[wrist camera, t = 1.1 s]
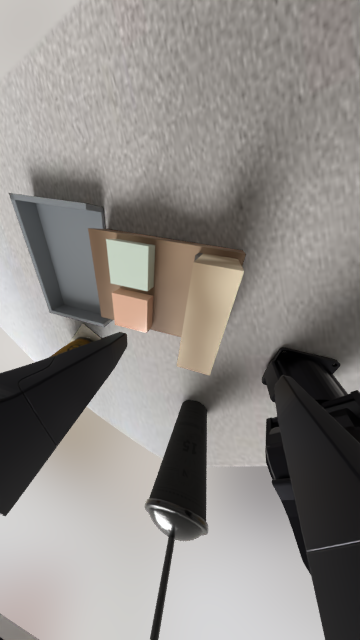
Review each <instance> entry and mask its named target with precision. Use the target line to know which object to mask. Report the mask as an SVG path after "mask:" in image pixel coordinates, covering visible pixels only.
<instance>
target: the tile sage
mask: <svg viewBox="0 0 360 640" xmlns="http://www.w3.org/2000/svg"><path fill="white" fill-rule="evenodd" d="M106 243H107V253H108V262H109V272H110V281H111V284H116V285H121V286H125V287H130V288H134V289H139V290H144V291H149V290H150V289H151V288H153V287H154V263H155V245H151V244H145V243H139V242H133V241H127V240H121V239H106Z"/></svg>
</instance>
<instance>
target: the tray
mask: <svg viewBox="0 0 360 640" xmlns="http://www.w3.org/2000/svg"><path fill="white" fill-rule="evenodd" d="M9 195H10V198H11V201H12V204H13V207H14V210H15V213H16V216H17V219H18V221H19V224H20V227H21V230H22V233H23V236H24V239H25V242H26V245H27V248H28V251H29V253H30V256H31V259H32V262H33V265H34V268H35V271H36V274H37V277H38V280H39V283H40V285H41V288H42V291H43V294H44V297H45V300H46V303H47V306H48V309H49V312H50V313H53V314H57V315H60V316H64V317H68V318H72V319H75V320H79V321H83V322H87V323H90V324H94V325H98V326H102V327H105V326H106V325H107V324H109V323H110V322H111V321H112V319H108V318H104V317H101V310H100V304H99V297H98V291H97V284H96V278H95V271H94V265H93V258H92V252H91V245H90V239H89V232H88V228H96V229H105V222H104V212H103V207H100V206H95V205H91V204H86V203H79V202H72V201H64V200H57V199H50V198H42V197H35V196H27V195H20V194H13V193H9Z"/></svg>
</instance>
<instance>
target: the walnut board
mask: <svg viewBox="0 0 360 640" xmlns="http://www.w3.org/2000/svg"><path fill="white" fill-rule="evenodd" d="M88 232H89V239H90V245H91V252H92V258H93V265H94V271H95V278H96V284H97V291H98V297H99V304H100V310H101V317H104V318H108V319H112V320H115V319H114V310H113V300H112V292H114V291H116V290H118V289H120V288H121V289H125V290H130V291H134V292H139V293H143V294H148V295H152V296H153V314H152V327H151V328H150V329H151V330H155V331H159V332H163V333H167V334H171V335H175V336H179V337H182V330H183V324H184V318H185V312H186V306H187V300H188V293H189V287H190V281H191V275H192V269H193V263H194V259H195V255H196V254H197V253H204V254H210V255H216V256H222V257H228V258H234V259H238V260H239V262H240V264H241V266H242V265H243V262H244V258H245V255H246V253H245V252H244V251H243V250H236V249H230V248H224V247H218V246H211V245H205V244H199V243H193V242H186V241H180V240H174V239H167V238H161V237H155V236H149V235H142V234H136V233H130V232H124V231H117V230H111V229H96V228H88ZM106 239H121V240H127V241H133V242H139V243H145V244H151V245H155V263H154V287H153V288H151V289H150V290H149V291H144V290H139V289H134V288H130V287H125V286H121V285H116V284H111V281H110V272H109V262H108V253H107V243H106Z"/></svg>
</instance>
